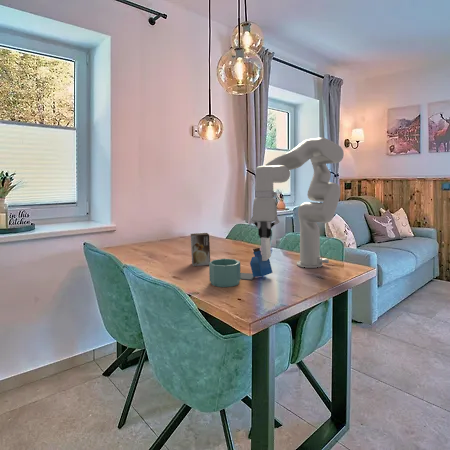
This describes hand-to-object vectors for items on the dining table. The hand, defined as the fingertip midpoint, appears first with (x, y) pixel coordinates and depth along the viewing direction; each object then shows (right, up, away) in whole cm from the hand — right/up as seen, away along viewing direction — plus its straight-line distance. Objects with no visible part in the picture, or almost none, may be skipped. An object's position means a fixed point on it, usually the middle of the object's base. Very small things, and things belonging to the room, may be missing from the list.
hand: (264, 237), depth 151 cm
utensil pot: (-17, -19, -3) cm, 26 cm away
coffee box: (-30, -15, +30) cm, 45 cm away
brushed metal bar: (+1, -9, +2) cm, 10 cm away
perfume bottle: (0, -17, +3) cm, 17 cm away
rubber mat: (-10, -18, +6) cm, 21 cm away
